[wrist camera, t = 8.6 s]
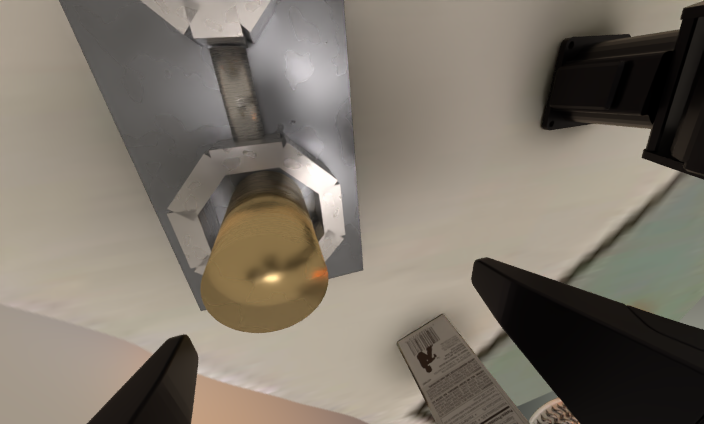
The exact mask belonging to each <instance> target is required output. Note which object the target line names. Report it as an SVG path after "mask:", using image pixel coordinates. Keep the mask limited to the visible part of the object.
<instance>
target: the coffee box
mask: <svg viewBox="0 0 704 424" xmlns="http://www.w3.org/2000/svg"><path fill="white" fill-rule="evenodd" d="M397 346H398V347H399V349H400V352H401V353H402V355H403V357H404V359H405V361H406V363H407V365H408V367H409V369H410V371H411V373H412V375H413V377H414V379H415V381H416V383H417V385H418V387H419V389H420V391H421V393H422V395H423V397H424V399H425V401H426V403H427V405H428V407H429V409H430V411H431V413H432V415H433V417H434V419H435V421H436V423H437V424H530V423H529V422H528V421H527V419H526V418H525V417H524V416H523V414H522V413H521V412H520V411H519V409H518V408H517V407H516V405H515V404H514V403H513V402H512V400H511V399H510V398H509V397H508V395H507V394H506V393H505V391H504V390H503V389H502V388H501V386H500V385H499V384H498V383H497V381H496V380H495V379H494V377H493V376H492V375H491V374H490V372H489V371H488V370H487V369H486V367H485V366H484V365H483V364H482V362H481V361H480V360H479V358H478V357H477V356H476V355H475V353H474V352H473V351H472V349H471V348H470V347H469V346H468V344H467V343H466V342H465V340H464V339H463V338H462V337H461V335H460V334H459V333H458V332H457V330H456V329H455V328H454V327H453V325H452V324H451V323H450V322H449V320H448V319H447V318H446V317H445V315H441V316H439V317H437V318H436V319H434V320H433V321H431V322H429V323H428V324H426V325H424V326H423V327H421V328H420V329H418V330H416V331H415V332H413V333H411V334H410V335H408V336H407V337H405V338H403V339H401V340H400V341H398V343H397Z"/></svg>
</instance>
